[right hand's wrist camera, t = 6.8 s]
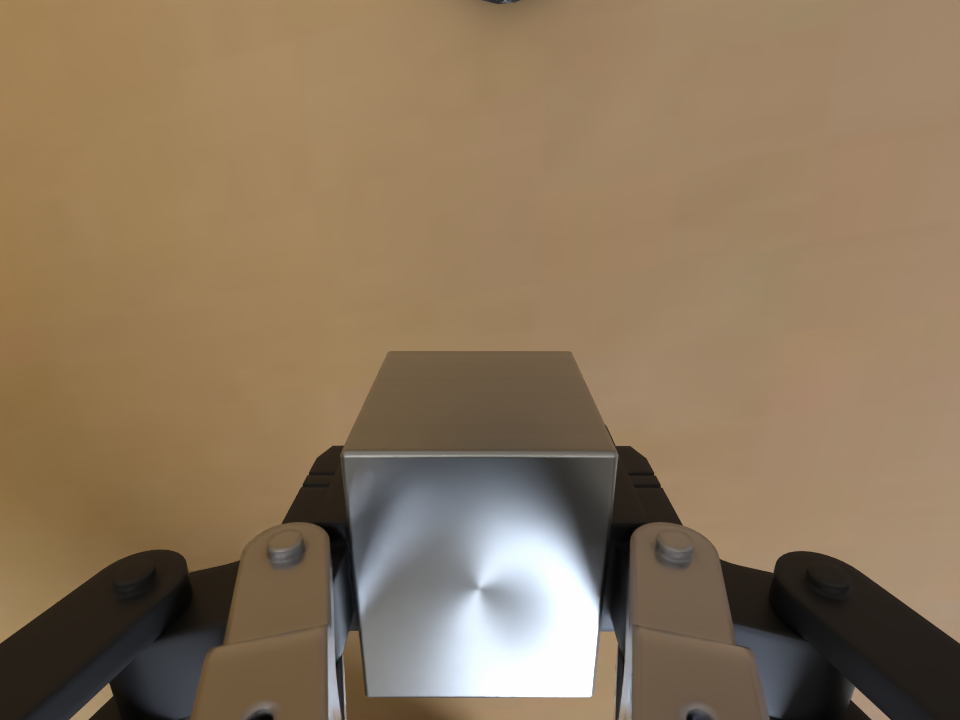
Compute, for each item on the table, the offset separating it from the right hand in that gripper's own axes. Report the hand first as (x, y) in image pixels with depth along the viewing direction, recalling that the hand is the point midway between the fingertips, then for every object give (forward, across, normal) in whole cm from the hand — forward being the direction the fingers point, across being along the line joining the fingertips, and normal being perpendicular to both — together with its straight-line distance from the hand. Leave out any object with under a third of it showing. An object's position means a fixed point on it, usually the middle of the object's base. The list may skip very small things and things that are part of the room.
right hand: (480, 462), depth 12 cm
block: (0, 0, 0) cm, 0 cm away
